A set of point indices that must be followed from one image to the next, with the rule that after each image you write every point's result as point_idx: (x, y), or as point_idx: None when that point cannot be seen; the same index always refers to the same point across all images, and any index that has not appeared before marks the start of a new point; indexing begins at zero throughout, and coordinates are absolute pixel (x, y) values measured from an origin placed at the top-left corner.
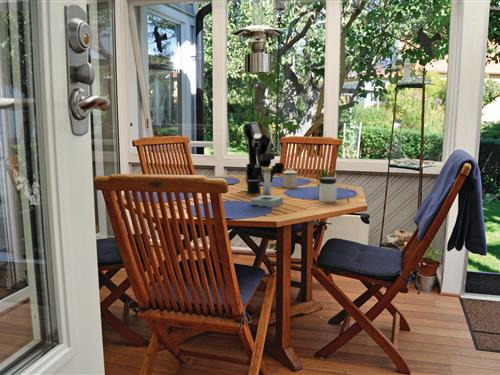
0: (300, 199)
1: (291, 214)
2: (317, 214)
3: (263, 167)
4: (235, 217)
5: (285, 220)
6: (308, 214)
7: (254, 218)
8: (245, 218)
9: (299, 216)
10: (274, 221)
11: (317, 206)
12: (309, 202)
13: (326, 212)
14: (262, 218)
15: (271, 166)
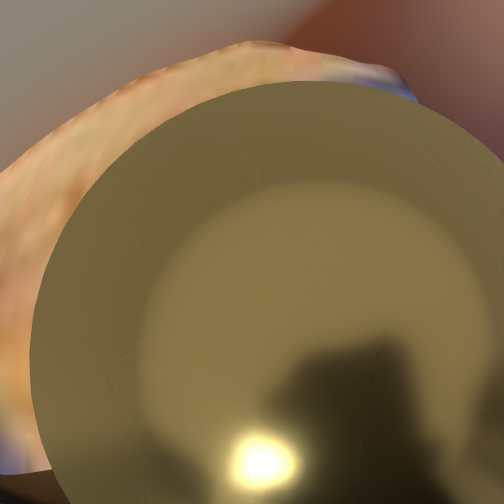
0: (40, 468)
1: (173, 106)
2: (80, 114)
3: (480, 144)
4: (399, 95)
5: (220, 49)
6: (109, 110)
7: (329, 72)
8: (361, 78)
9: (154, 84)
10: (259, 43)
11: (9, 257)
12: (9, 369)
13: (38, 144)
14: (300, 68)
15: (66, 428)
